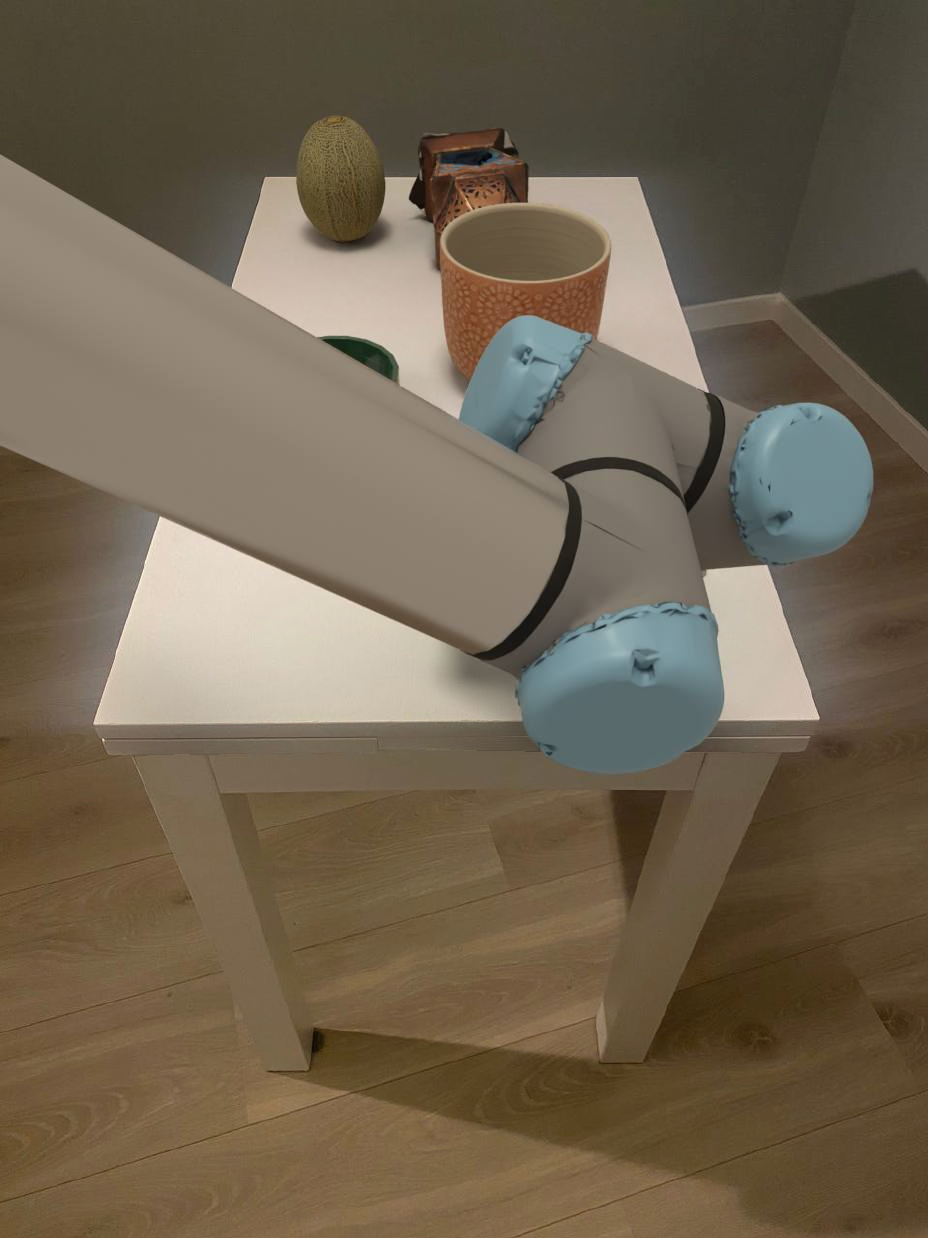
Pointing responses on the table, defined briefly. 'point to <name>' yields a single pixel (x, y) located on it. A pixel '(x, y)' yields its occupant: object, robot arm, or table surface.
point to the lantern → (467, 175)
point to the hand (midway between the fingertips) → (516, 545)
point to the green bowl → (367, 354)
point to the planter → (519, 273)
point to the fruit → (340, 179)
